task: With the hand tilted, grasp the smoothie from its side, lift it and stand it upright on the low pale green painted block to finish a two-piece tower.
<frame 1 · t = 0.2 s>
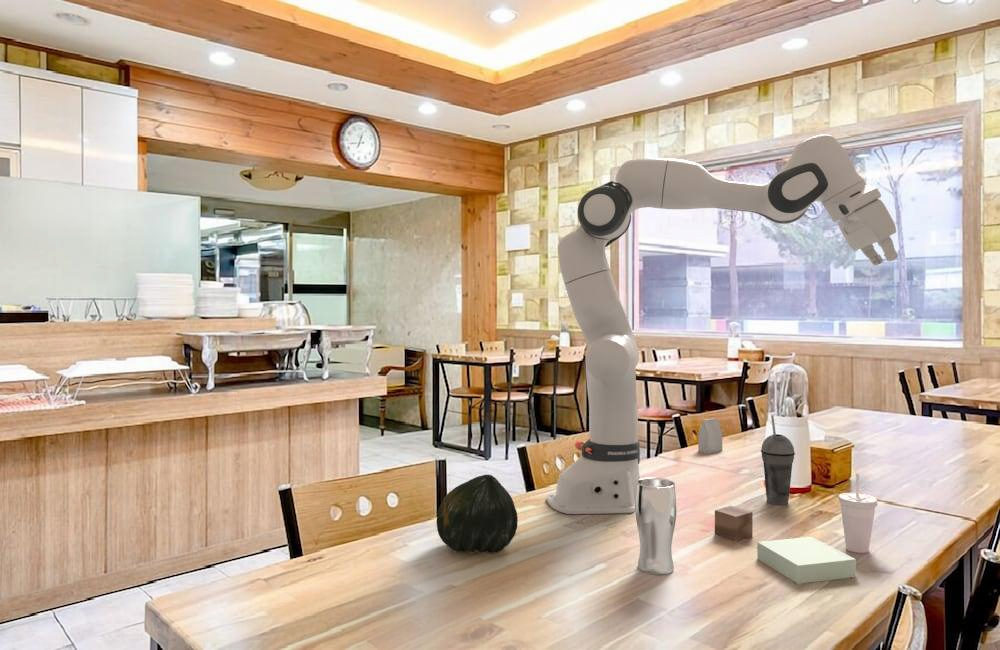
hand: (886, 261, 136), 54 cm above the table, tool tilted 30°, fingers open, 8 cm apart
beverage cup: (777, 502, 151), on the table
pedestal: (804, 567, 114), on the table
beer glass: (655, 569, 114), on the table
tea bag: (710, 451, 204), on the table
squash: (478, 549, 125), on the table
smoothie: (857, 550, 122), on the table
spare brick: (733, 536, 130), on the table
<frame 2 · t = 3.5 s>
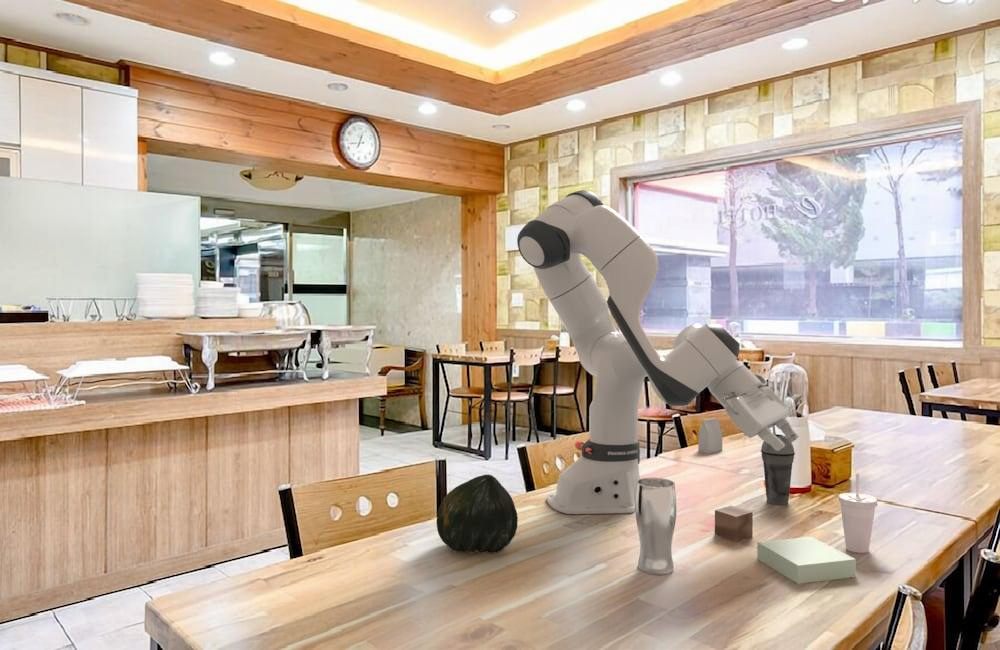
hand: (788, 444, 129), 18 cm above the table, tool tilted 45°, fingers open, 8 cm apart
nothing on the table moved.
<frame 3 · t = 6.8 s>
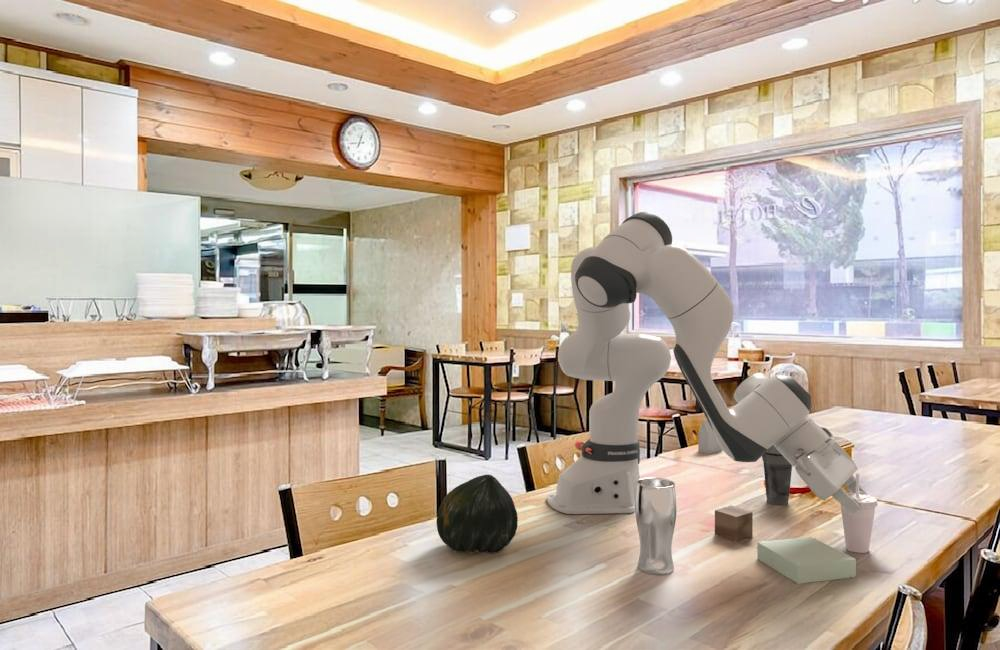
hand: (861, 504, 122), 8 cm above the table, tool tilted 45°, fingers closed on smoothie, 6 cm apart
smoothie: (857, 550, 122), on the table, touching gripper
everything else where it was.
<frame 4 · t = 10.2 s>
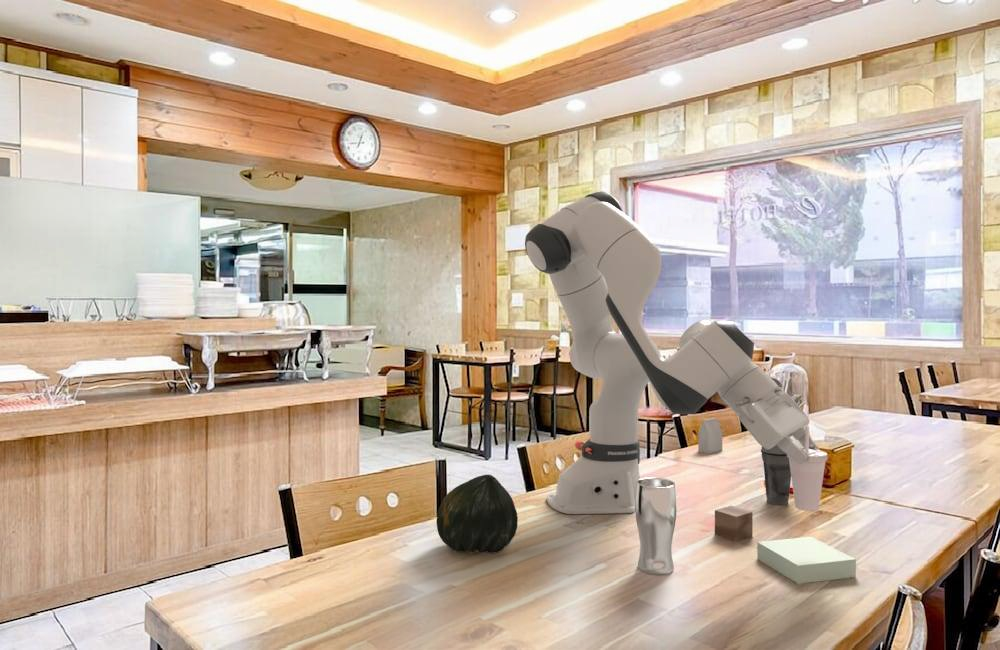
hand: (810, 456, 113), 19 cm above the table, tool tilted 45°, fingers closed on smoothie, 6 cm apart
smoothie: (806, 508, 114), point 10 cm above the table, touching gripper
everything else where it was.
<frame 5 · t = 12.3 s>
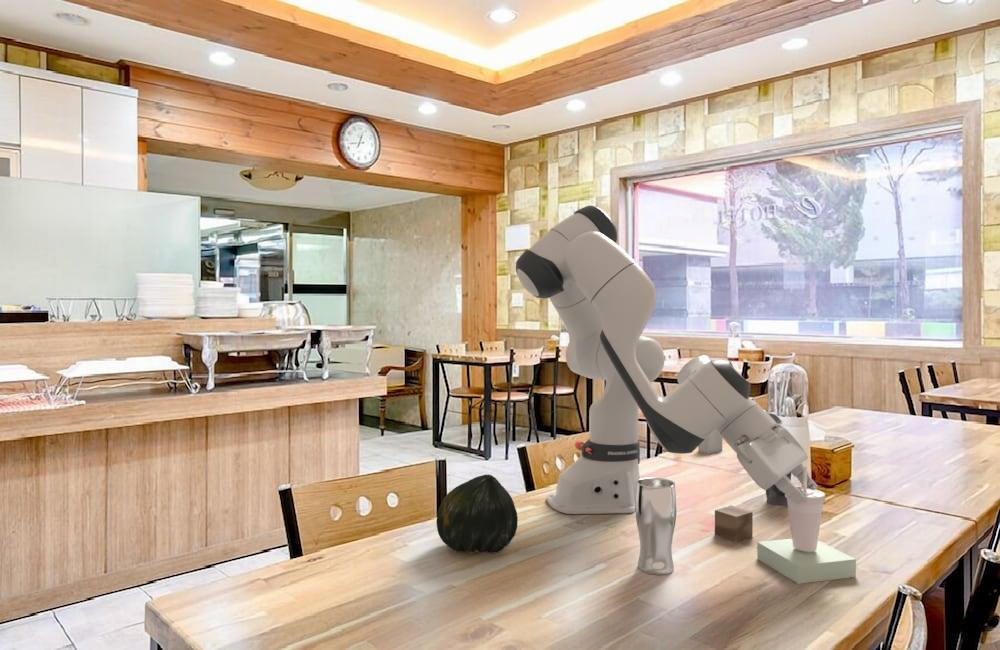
hand: (808, 495, 113), 13 cm above the table, tool tilted 45°, fingers closed on smoothie, 6 cm apart
smoothie: (804, 548, 114), point 3 cm above the table, touching gripper
everything else where it was.
when the fingers open (12 cm above the table, at t = 13.8 s): smoothie stays where it is, resting on pedestal.
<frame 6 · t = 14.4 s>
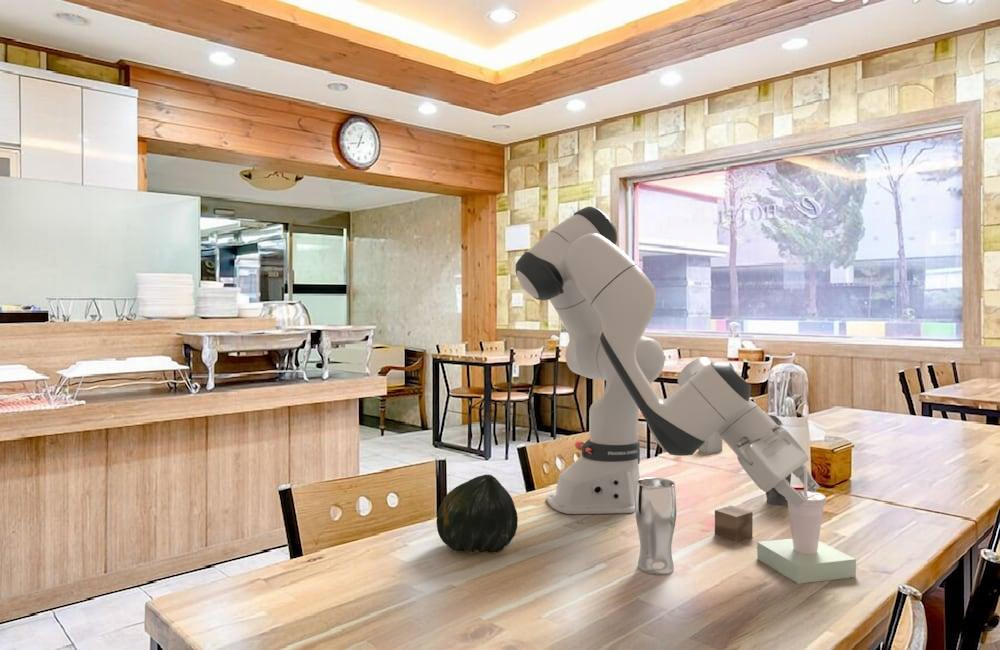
hand: (809, 497, 113), 12 cm above the table, tool tilted 45°, fingers open, 8 cm apart
smoothie: (805, 551, 114), point 3 cm above the table, touching pedestal
everything else where it was.
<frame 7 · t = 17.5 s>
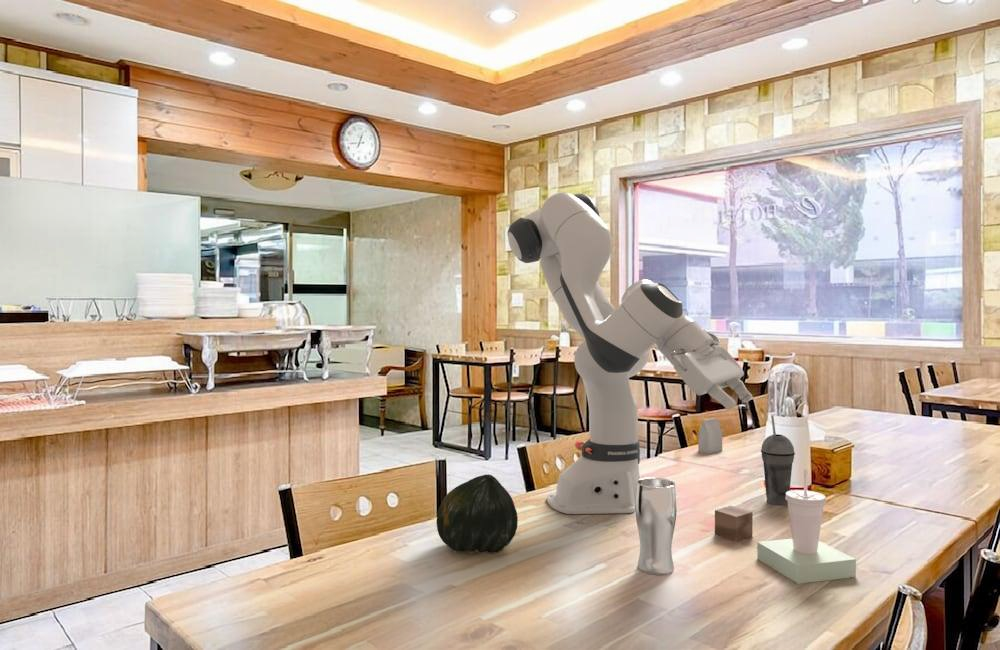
hand: (741, 403, 121), 27 cm above the table, tool tilted 45°, fingers open, 8 cm apart
nothing on the table moved.
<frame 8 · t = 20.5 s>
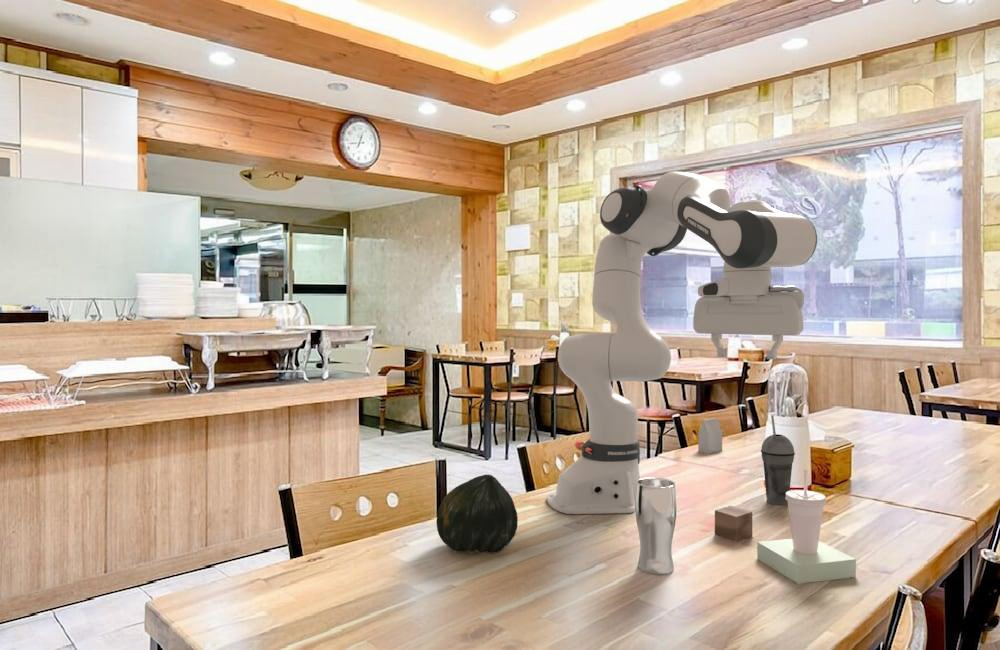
hand: (746, 358, 128), 35 cm above the table, tool pointing down, fingers open, 8 cm apart
nothing on the table moved.
at the end: smoothie inside the target area on the pedestal (0.0 cm from its centre), point 2.8 cm above the pedestal's base; smoothie tilted 0°; the gripper is holding nothing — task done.
